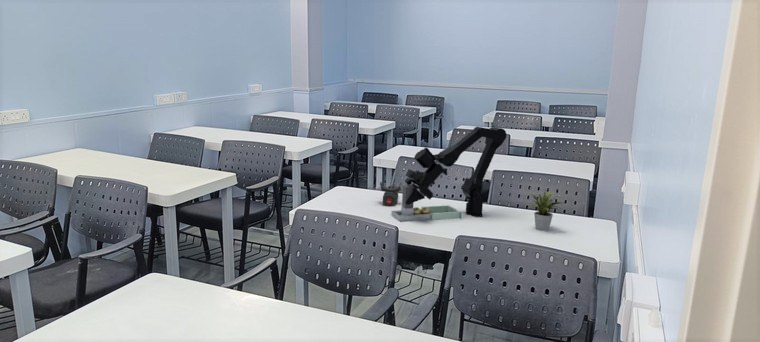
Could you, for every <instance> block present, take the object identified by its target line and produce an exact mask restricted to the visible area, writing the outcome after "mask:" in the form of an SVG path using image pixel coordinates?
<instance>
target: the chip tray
mask: <svg viewBox="0 0 760 342" xmlns="http://www.w3.org/2000/svg"><path fill="white" fill-rule="evenodd" d="M423 207H428V208H429V209H430V213H432V212H443V213H432V215H431V219H432V220H431V221H438V220H439V219H441V220H452V219H453V220H454V219H455V218H457V219H461V218H462V212H461V211H460V210H458V209H457V208H454V207H453V206H451V205H449V204H446V205H445V204H443V205H427V206H421V207H420V209H422V208H423Z"/></svg>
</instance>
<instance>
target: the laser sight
mask: <svg viewBox="0 0 760 342" xmlns="http://www.w3.org/2000/svg"><path fill="white" fill-rule="evenodd" d="M379 186H380V189H381V191H382V192H384V193H383V196H382V204H383V205H384V206H385V207H394V206H395V205H396V204H397V202H398V200H399V199H398V198H399V192H401V190H402V182H400V184H399V186H397V185H395V184H392V185H388V187H387V186H384V184H383V182H382V181H379Z"/></svg>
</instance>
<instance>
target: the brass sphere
mask: <svg viewBox="0 0 760 342" xmlns="http://www.w3.org/2000/svg"><path fill="white" fill-rule="evenodd" d="M413 208H414V215H415V214H421V210H420V209H421V207H418V206H417V207H413Z"/></svg>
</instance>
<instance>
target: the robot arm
mask: <svg viewBox="0 0 760 342" xmlns="http://www.w3.org/2000/svg"><path fill="white" fill-rule="evenodd" d="M507 136H508V135H507V132H506V130H505V129H504V128H501V127H496V126H492V127H490V128H486V127H482V126H476V127H474V128H473V130H471V131H469V132H468V133H467V134H466V135H465V136H463V138H461V139H460V140H458V141H457V142H456V143H455V144H454V145H452V146H450V147H447V148H445V149H443V150H441V151H439V153H435V154H433V153H432V152H431V151H430V149H429V148H428V147H424V149H421V150H419V151H417V152H416V154H415V155H414V157H413V158H414V160H415V161H416V162H417V163H418V164H419V165H420V167H422V168H423V169H426V170H424V171H419V170H418V169H416V170H415V171H414V170H412V169H410V168H408V169H407V171H406V174H405V177H407V178H405V180H404V182H405V183H406V185H412V186H413V187H414V189H413V193H412V195H411V196H410V197H409V199H408V200H407V202H406V204H407V205H408V204H411V203H413V204H414V203H416V202H419V201H421V200H423V199H428V200H432V198H433V197H434V193H433V192H432V191H431V190H430V189H429V188H430V187H431V186H432V185H433V186H434V185H435V184H436V182H435V181H436V180H437V179H438V178H439V177H440V176H441V175H444V176H448V168H449V167H452V166H453V165H455V163H456V162H457V161H458V160H459V158H460V157H461V154H463V153H464V152H465V151H466V150H467V149H469V148H470V147H471V146H473V145H474V143H475V144H476V142H478V141H479V139H481V138H485V146H484V149H483V150H482V153H481V155H480V158H479V159H478V162H477V164H476V167H475V169H474V170H473V173H472V175H471V176H470V177H469V178H468V177H466V178H465V179H464V182H463V184H462V185H461V187H462V190H461V191H462V193H463V195H464V196H465V199H466V200H467V202H466V203H465V214H466V215H467V216H472V217H483V204H484V203H485V202H486V201H487V197H486V196H485V195H484V194H483V188H484V182H483V181H484V178H485V176H486V174H487V172H488V170H489V168H490V165H491V163H492V161H493V158H494V156H495V154H496V151H497V149H499V148H500V147H501V146H502V145H503V144H504V143H505V140H506V139H507ZM443 166H445V167H443ZM446 167H447V168H446ZM425 197H426V198H425Z"/></svg>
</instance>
